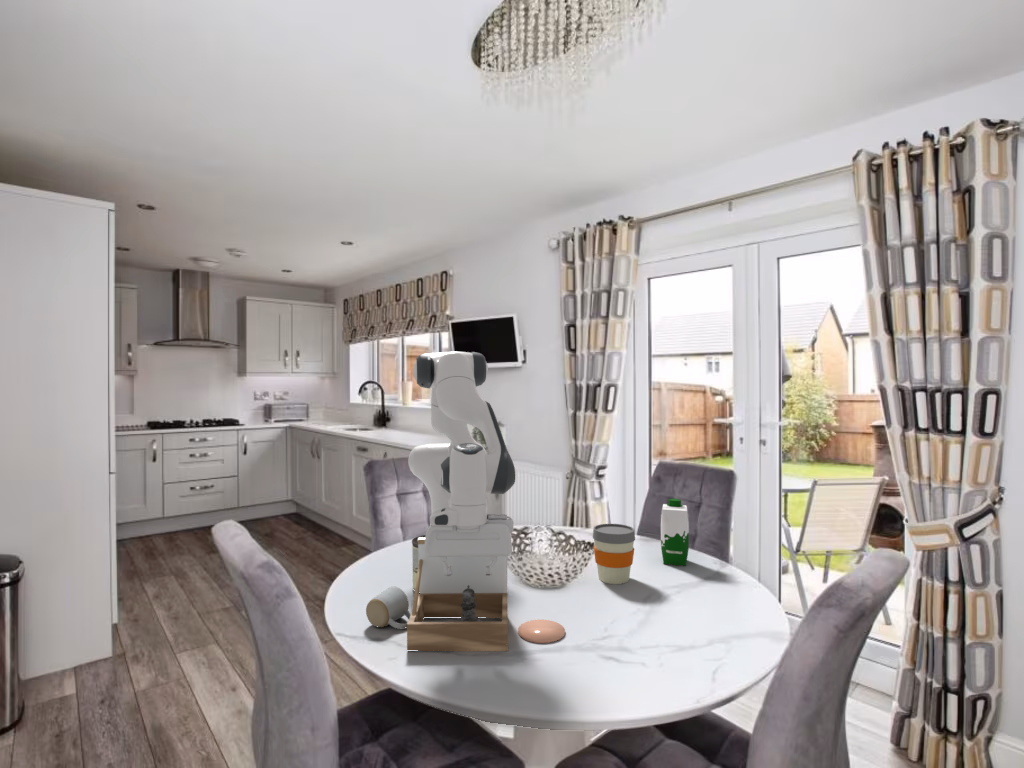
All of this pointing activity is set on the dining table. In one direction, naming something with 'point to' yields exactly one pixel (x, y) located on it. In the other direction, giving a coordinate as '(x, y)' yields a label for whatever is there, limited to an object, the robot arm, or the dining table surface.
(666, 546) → the milk carton
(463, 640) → the cold frame
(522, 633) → the glossy peach disc
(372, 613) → the ceramic mug
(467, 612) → the dark grey turned piece
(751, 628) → the dining table surface
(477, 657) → the dining table surface
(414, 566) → the coffee can
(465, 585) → the propped lid
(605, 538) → the reusable coffee cup
